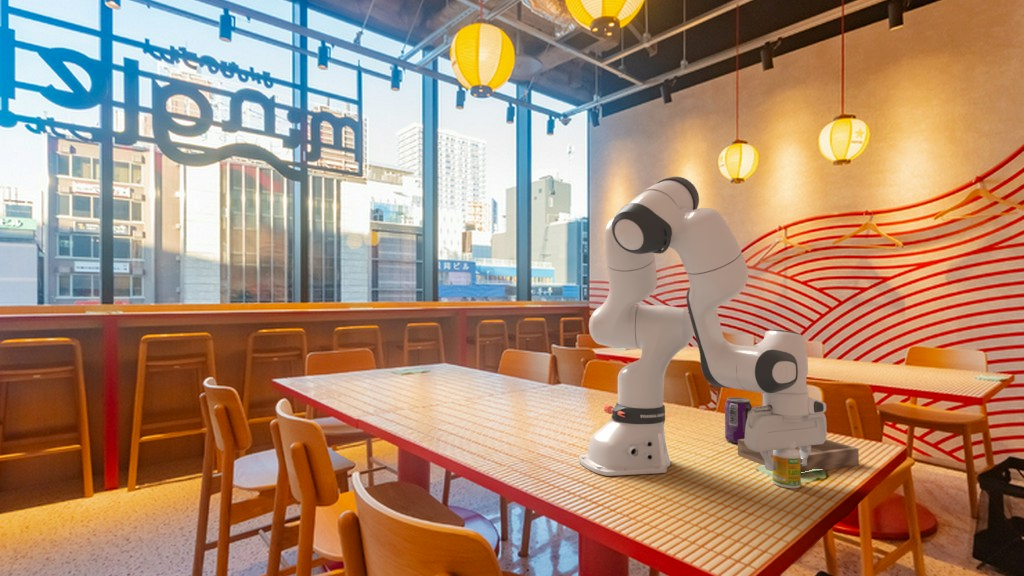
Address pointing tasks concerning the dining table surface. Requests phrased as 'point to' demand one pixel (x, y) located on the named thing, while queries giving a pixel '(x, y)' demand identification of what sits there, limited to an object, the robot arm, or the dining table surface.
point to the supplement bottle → (787, 467)
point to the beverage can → (736, 418)
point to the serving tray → (814, 455)
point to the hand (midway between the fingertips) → (786, 467)
